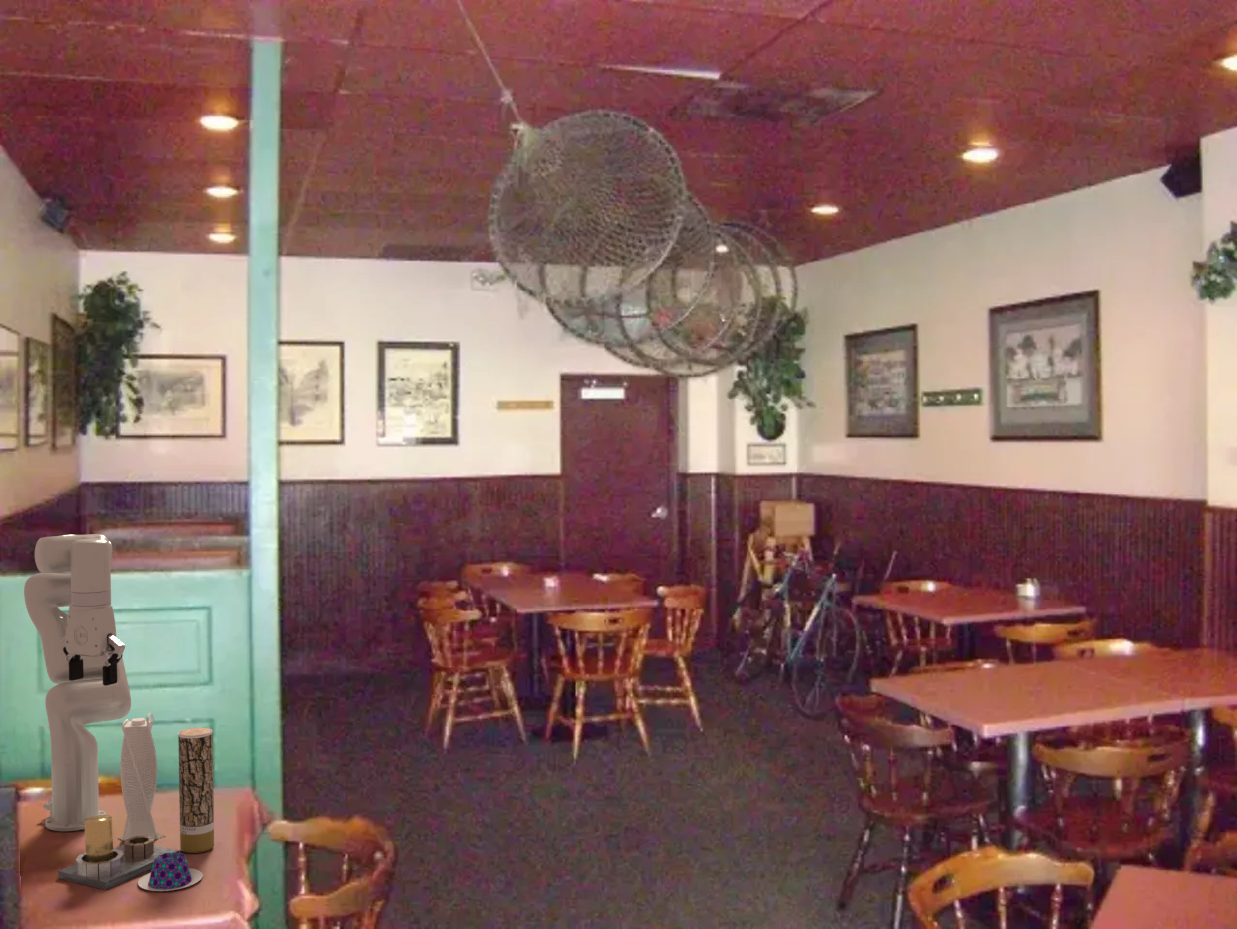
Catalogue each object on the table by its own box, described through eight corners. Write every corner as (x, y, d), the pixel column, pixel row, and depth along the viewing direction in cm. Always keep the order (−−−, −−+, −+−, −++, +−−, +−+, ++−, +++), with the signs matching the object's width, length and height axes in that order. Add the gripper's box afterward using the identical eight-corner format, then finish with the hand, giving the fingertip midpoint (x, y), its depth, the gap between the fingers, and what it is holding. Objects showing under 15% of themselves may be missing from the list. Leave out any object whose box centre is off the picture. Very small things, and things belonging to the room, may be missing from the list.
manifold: (58, 878, 252) (57, 858, 251) (133, 847, 269) (133, 829, 268) (105, 889, 246) (105, 869, 246) (179, 857, 263) (179, 838, 263)
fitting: (81, 870, 252) (78, 821, 251) (102, 861, 256) (100, 813, 255) (97, 875, 249) (95, 825, 249) (119, 866, 254) (117, 817, 253)
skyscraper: (169, 839, 275) (167, 711, 273) (136, 850, 268) (133, 718, 266) (146, 831, 280) (144, 705, 278) (113, 841, 273) (110, 712, 271)
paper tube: (203, 855, 264) (201, 736, 263) (173, 853, 265) (171, 735, 264) (220, 844, 271) (218, 728, 269) (191, 842, 272) (189, 726, 271)
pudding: (136, 876, 254) (135, 850, 253) (199, 867, 258) (198, 842, 258) (139, 898, 243) (139, 871, 242) (205, 889, 247) (205, 862, 247)
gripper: (46, 598, 262) (48, 681, 263) (107, 605, 254) (108, 690, 255) (76, 593, 268) (78, 674, 269) (136, 599, 261) (138, 682, 262)
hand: (93, 681), depth 262 cm, fingers open, 9 cm apart
